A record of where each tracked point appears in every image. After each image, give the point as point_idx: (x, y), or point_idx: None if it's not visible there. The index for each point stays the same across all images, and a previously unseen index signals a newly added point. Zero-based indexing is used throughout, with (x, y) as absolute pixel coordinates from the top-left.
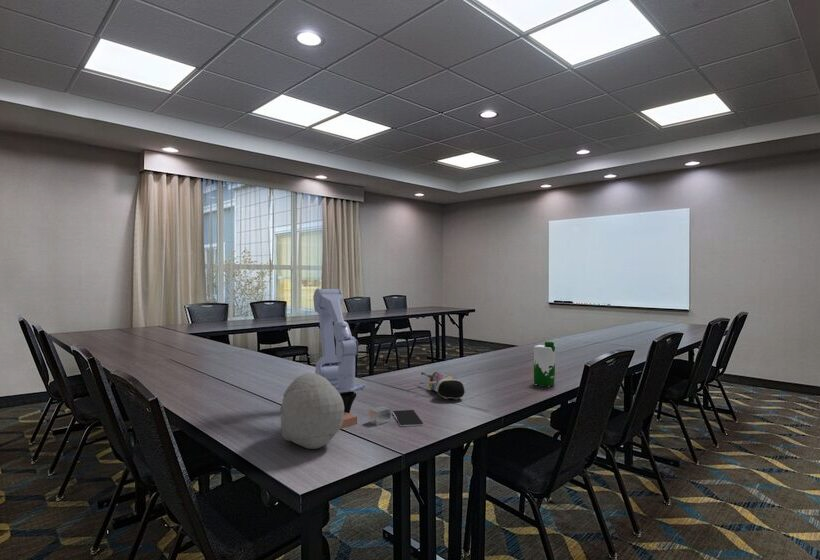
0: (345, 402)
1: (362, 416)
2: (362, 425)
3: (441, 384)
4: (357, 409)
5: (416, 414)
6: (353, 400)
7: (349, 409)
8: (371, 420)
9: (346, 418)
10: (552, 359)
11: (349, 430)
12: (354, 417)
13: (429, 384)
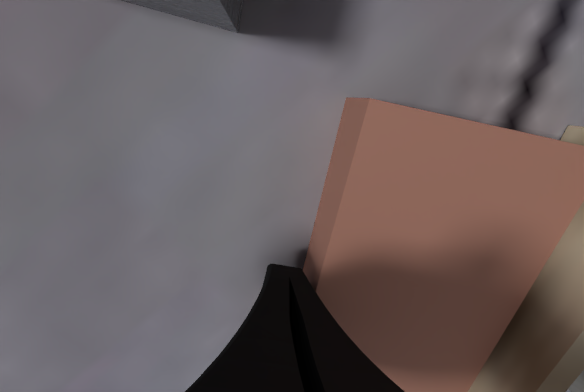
0: (378, 368)
1: (157, 197)
2: (348, 25)
3: None
4: (67, 333)
5: None
6: (229, 353)
7: (279, 286)
8: None
9: (485, 148)
10: None
11: (517, 38)
12: (405, 106)
13: None
